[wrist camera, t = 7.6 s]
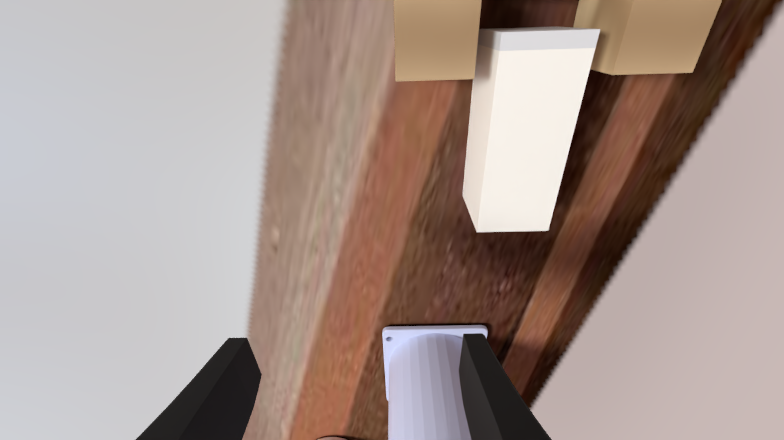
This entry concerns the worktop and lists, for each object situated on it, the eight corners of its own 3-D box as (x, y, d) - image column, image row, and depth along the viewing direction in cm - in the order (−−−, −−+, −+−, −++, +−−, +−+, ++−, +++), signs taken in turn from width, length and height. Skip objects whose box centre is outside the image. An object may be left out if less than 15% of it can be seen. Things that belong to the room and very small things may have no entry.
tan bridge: (628, 60, 16) (692, 72, 13) (395, 67, 16) (395, 81, 13) (663, -52, 14) (752, -74, 10) (392, -42, 14) (392, -61, 11)
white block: (521, 193, 20) (548, 230, 16) (462, 195, 20) (476, 232, 16) (554, 26, 15) (600, 28, 12) (477, 28, 15) (501, 32, 12)
